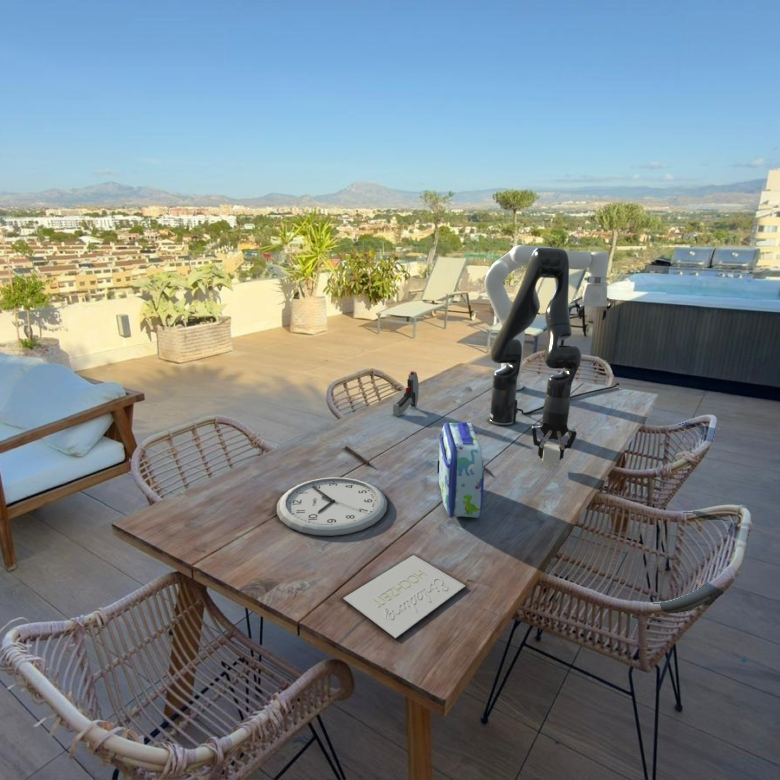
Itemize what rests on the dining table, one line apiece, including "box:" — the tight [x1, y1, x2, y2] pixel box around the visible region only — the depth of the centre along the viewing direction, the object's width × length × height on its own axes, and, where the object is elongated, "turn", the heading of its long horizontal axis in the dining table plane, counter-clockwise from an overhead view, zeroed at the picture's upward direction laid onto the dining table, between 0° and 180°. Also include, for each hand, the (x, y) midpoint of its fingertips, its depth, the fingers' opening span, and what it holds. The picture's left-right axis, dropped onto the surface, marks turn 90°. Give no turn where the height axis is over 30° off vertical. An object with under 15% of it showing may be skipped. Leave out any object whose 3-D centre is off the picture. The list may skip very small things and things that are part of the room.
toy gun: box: [392, 370, 420, 417], centre depth 214 cm, size 2×16×15 cm
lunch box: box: [436, 421, 485, 519], centre depth 143 cm, size 26×11×21 cm, turn 179°
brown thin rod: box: [344, 445, 370, 465], centre depth 173 cm, size 15×1×1 cm, turn 34°
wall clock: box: [276, 476, 388, 537], centre depth 142 cm, size 30×2×30 cm
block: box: [541, 443, 561, 464], centre depth 167 cm, size 5×5×4 cm
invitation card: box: [343, 554, 466, 639], centre depth 109 cm, size 21×1×15 cm
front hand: (550, 458), depth 167 cm, fingers closed on block, 5 cm apart
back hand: (591, 319), depth 236 cm, fingers open, 9 cm apart
